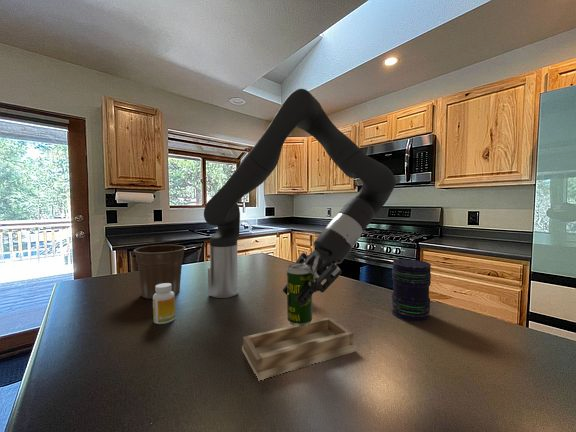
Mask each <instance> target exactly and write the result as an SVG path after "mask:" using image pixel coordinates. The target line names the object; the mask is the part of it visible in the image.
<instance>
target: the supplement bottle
mask: <svg viewBox="0 0 576 432" xmlns="http://www.w3.org/2000/svg"><path fill="white" fill-rule="evenodd" d="M171 289H172V285H171V284H170V283H162V284H158V285H156V286H155V291H156V292H157V293H155V294H154V295H153V299H152V315H153V319H152V320H153V323H154V324H157V325H165V324H168V323H171V322H173V321H174V320H175V319H176V303H175V302H176V300H175V299H176V298H175V296H176V295H174V292H173V291H171Z"/></svg>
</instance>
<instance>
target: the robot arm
mask: <svg viewBox="0 0 576 432" xmlns="http://www.w3.org/2000/svg"><path fill="white" fill-rule="evenodd" d="M296 127H297V128H299V129H301V130H303V131H305V132H306V133H307V134H309V135H310V136H311V137H313V138H314V139H315V140H316V141H317V142H318V143H319V144H320V145H321V146H322V148H323V149H324V151H325V152H326V154H327V155H328V157H330V159H331V160H332V161H333V163H334V164H335V165H336V166H337V167H338V168H339V169H340V170H341V171H342V172H343V173H344V174H345V176H347V177H348V178H350V179H356V178H358V179H359V180H361V182H362V186H361V188H360V190H359V191H358V193H357V194H356V196H354V197H353V198H351V199H349V200H348V201H347V202H346V203H345V204H344V205H343V207H341V209H340V211H338V213H337V214H336V215H335V216H334V217H333V218H332V219H331V220H330V221H329V223H328V224H327V225H326V226H325V228H324V229H323V230H322V231H321V232H320V234H319V235H318V237H316V238H315V240H314V241H313V246H314V250H313V251H312V252H310V253H309V254H307V253H305V251H304V252H301V254H300V255H299V256H298V258H297V260H296V261H295V263H294V264H308V265H310V266H311V272H310V278H309V280H308V282H307V285H308V286H307V285H305V286H304V287H303V289H302V290H301V291H300V293H299V294H298V295H297V296H296V298H295V301H296V302H297V303H298V304H300V305H301V306H304V304H305V303H306V302H307V301H308V300H309V298H310V297H311V296H312V297H313V294H315V293H317V292H320V293H324V292H325V291H326V290H327V289H328V288H329V287H330V286H331V285H332V284H333V283H334V282H335V281H336V280H337V278H339V276H341V274H342V272H343V271H342V269H341V268H340V267H339V266H338V264H341V263H343V261H344V260H345V258H346V257H347V256H348V254H349V253H350V251H351V250H352V249H353V247H354V246H355V245H356V244H357V242H358V241H359V238H361V235H362V234H363V232H364V231H365V230H366V228H367V227H368V226H369V224H370V223H371V221H372V220H373V218H374V216H375V215H376V214H377V213H378V212H379V211H380V210H381V209H382V208H383V206H384V205H385V204H386V202H388V200H389V198H390V196H391V195H392V193H393V191H394V189H395V187H396V177H395V175H394V173H393V172H392V170H391V169H389V167H388V166H387V165H385V164H383V163H382V162H379V161H378V160H376V159H374V158H372V157H371V156H368V155H367V154H366V153H365V152H364V151H363V150H362V149H361V148H360V147H359V146H358V144H356V143H355V142H354V141H353V140H352V139H351V138H349V137H348V136H347V134H344V132H342V131H341V130H340V129H338V127H336V125H335V124H334V123H333V121H331V119H330V118H329V116H328V115H327V113H326V112H325V111H324V109H323V107H322V105H321V103H320V102H319V100H318V99H317V98H315V96H314V95H313V94H312V93H311V92H309V90H308V89H306V88H298V89H295V90H294V91H292V92H290V93H289V95H288V96H287V97H286V98H285V100H284V101H283V103H282V104H281V105H280V108H279V109H278V110H277V113H276V114H275V115H274V117H273V118H272V121H271V122H270V124H269V125H268V127H267V128H266V129H265V130H264V132H263V133H262V135H261V136H260V138H259V139H258V140H257V142H256V143H255V144H254V146H253V147H252V148H251V149H250V150H249V152H248V153H247V154H246V156H245V157H244V158H243V160H242V161H241V163H240V164H239V165H238V167H237V168H236V169H235V170H234V171H233V173H232V174H231V175H230V177H228V179H227V181H226V182H225V183H224V185H222V186H221V188H219V189H218V190H217V192H216V193H215V194H214V195H212V197H211V198H210V199H209V200H208V202H207V203H206V205H205V206H204V209H203V218H204V221H205V222H206V223H207V224H208V225H210V226H213V227H217V230H216V231H215V233H214V234H213V235H211V236H210V238H209V263H210V264H209V265H210V266H209V267H208V268H207V284H208V285H207V288H208V289H207V294H208V296H209V297H213V298H215V299H216V298H217V299H227V298H231V297H235V296H236V295H238V293H239V292H238V291H239V283H238V282H239V281H238V278H239V277H238V276H239V275H238V272H239V271H238V270H239V269H238V266H239V265H238V239H239V236H240V226H241V212H240V206H239V204H238V202H239V201H240V200H242V198H243V197H245V196H246V195H248V194H249V193H250V192H252V191H254V190H255V189H257V188H258V187H259V186H260V185H262V184H263V183H264V182H265V181H266V180H267V179H268V177H269V176H271V174H272V173H273V171H274V170H275V168H276V167H277V165H278V164H279V160H280V157H281V154H282V149H283V145H284V143H285V141H286V140H287V138H288V136H289V135H291V133H292V132H293V131H294V129H295V128H296ZM282 292H283V293H284V294H285V295H286V296H287V284H286V285H284V287H283V289H282Z"/></svg>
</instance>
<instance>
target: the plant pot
mask: <svg viewBox="0 0 576 432" xmlns="http://www.w3.org/2000/svg"><path fill="white" fill-rule="evenodd" d="M185 250H186V246H184V245H179V244H157V245H156V244H155V245H146V246H142V247H137V248H135V249H133V253H135V254H134V255H135V259H136V262H135V263H137V269H138V277H139V283H140V286H139V287H140V294H141V297H142V298H145V299H148V300H153V295H154V294H155V293H157V292H156V291H155V286H156V285H158V284H162V283H170V284H171V285H172V289H171V291H173V292H174V295H175V296H176V295H178V294H179V293H180V292H181V280H182V267H183V260H184V255H185Z"/></svg>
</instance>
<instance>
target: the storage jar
mask: <svg viewBox="0 0 576 432" xmlns="http://www.w3.org/2000/svg"><path fill="white" fill-rule="evenodd" d="M392 265H393V266H392V270H391V271H392V273H391V274H392V277H391V278H392V282H393V284H392V293H391V307H392V310H391V314H392V315H393V316H394V317H395V318H397V319H399V320H400V321H401V320H402V321H405V322H409V323H419V324H420V323H421V324H422V323H425V322H426V323H427V322H428V321H429V320H430V310H431V298H430V286H431V284H432V282H431V279H432V273H431V268H432V267H431V266H432V265H431V263H430V262H427V261H424V260H419V259H410V258H409V259H408V258H400V259H398V258H397V259H394V260H392Z"/></svg>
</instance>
